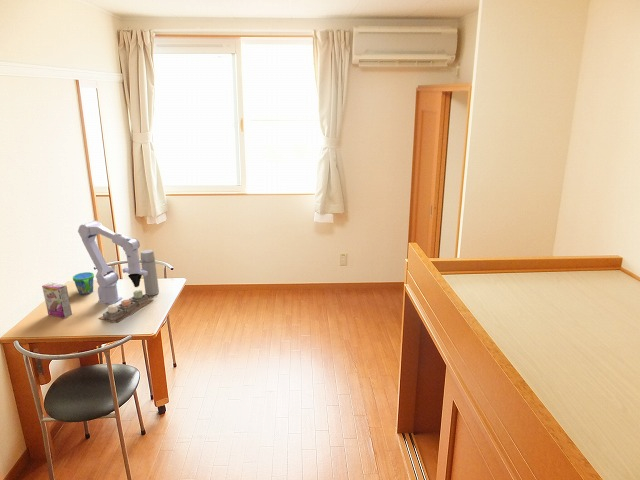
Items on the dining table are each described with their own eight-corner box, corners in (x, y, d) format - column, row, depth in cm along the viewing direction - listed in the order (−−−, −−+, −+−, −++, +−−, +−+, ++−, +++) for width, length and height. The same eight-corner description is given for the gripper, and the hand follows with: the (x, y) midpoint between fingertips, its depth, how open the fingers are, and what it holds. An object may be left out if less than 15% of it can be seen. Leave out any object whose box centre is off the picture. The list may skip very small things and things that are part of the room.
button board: (98, 318, 224) (97, 313, 223) (135, 297, 247) (134, 292, 246) (117, 322, 220) (116, 317, 219) (153, 300, 243) (152, 295, 242)
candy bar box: (47, 315, 228) (41, 285, 223) (56, 311, 232) (50, 282, 227) (64, 318, 224) (58, 288, 219) (72, 314, 229) (67, 284, 224)
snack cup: (98, 294, 251) (95, 278, 248) (77, 299, 246) (73, 282, 243) (94, 285, 264) (91, 269, 260) (74, 289, 258) (71, 273, 255)
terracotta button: (120, 309, 232) (119, 302, 231) (126, 305, 236) (125, 299, 235) (127, 310, 230) (126, 303, 229) (133, 306, 234) (132, 300, 233)
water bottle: (162, 292, 254) (157, 250, 246) (150, 297, 247) (145, 254, 240) (151, 288, 258) (146, 247, 251) (140, 293, 252) (134, 251, 244)
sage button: (132, 299, 240) (131, 293, 238) (138, 296, 243) (137, 290, 242) (139, 300, 238) (138, 294, 237) (144, 297, 242) (143, 291, 241)
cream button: (106, 314, 223) (105, 307, 222) (113, 310, 227) (112, 303, 226) (113, 315, 222) (112, 308, 221) (120, 312, 226) (119, 305, 225)
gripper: (116, 263, 230) (120, 287, 235) (139, 266, 226) (143, 291, 230) (126, 258, 237) (130, 282, 241) (149, 261, 232) (152, 286, 236)
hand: (137, 286), depth 236 cm, fingers closed
